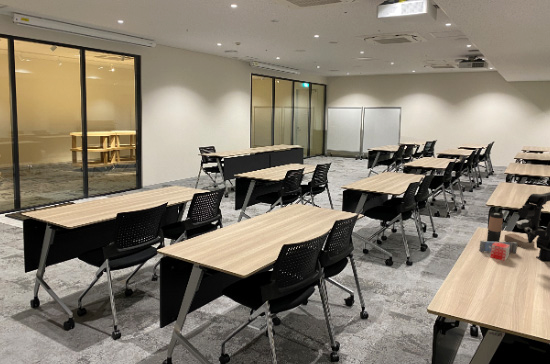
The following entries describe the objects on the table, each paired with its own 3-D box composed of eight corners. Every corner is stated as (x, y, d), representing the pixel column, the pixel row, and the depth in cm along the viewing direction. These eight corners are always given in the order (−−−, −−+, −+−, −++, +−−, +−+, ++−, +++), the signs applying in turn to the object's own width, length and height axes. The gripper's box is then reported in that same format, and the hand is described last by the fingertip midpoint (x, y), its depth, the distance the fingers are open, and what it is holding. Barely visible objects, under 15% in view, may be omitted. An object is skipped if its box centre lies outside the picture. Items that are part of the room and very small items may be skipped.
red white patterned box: (504, 260, 246) (506, 248, 245) (490, 257, 251) (492, 244, 250) (508, 257, 252) (510, 244, 251) (493, 253, 257) (495, 241, 256)
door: (513, 253, 258) (514, 243, 257) (485, 252, 259) (487, 242, 257) (510, 252, 261) (512, 242, 260) (483, 250, 261) (485, 241, 260)
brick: (534, 247, 272) (535, 240, 271) (525, 249, 269) (526, 241, 268) (512, 239, 287) (513, 233, 286) (503, 240, 284) (504, 234, 283)
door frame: (516, 253, 259) (517, 243, 258) (480, 252, 260) (482, 241, 258) (514, 252, 262) (515, 242, 260) (479, 250, 262) (480, 240, 261)
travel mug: (497, 241, 281) (502, 212, 277) (500, 245, 274) (504, 215, 270) (485, 240, 283) (489, 211, 279) (487, 243, 276) (491, 214, 272)
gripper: (511, 211, 248) (507, 236, 251) (527, 220, 230) (523, 247, 233) (531, 212, 248) (526, 238, 251) (549, 221, 229) (544, 248, 232)
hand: (529, 242), depth 242 cm, fingers closed
